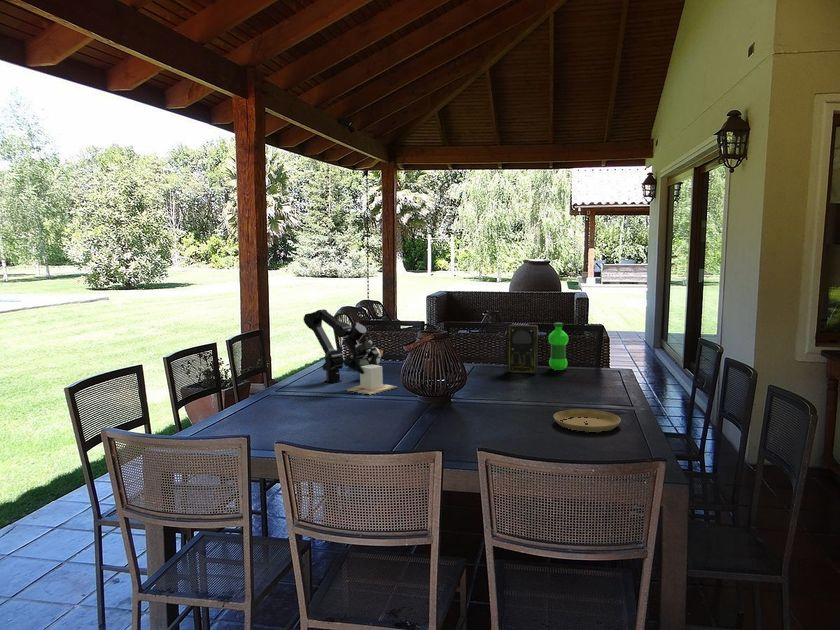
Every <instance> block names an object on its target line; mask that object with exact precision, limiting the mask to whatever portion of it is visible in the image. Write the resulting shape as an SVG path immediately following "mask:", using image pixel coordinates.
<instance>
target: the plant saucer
mask: <svg viewBox="0 0 840 630" xmlns="http://www.w3.org/2000/svg"><path fill="white" fill-rule="evenodd" d="M570 417H574V418H572V419H568V418H570ZM578 417H581V418H578ZM584 417H588V418H584ZM553 418H554V421H555V422H556V423H557V424H558V425H559V426H561V427H562V428H564V427H565V428H564V429H566V428H568V429H567V430H569V429H571V430H570V431H573V430H577V431H576V432H578V431H585V432H584V433H589V432H596V433H603V432H602V431H606V432H608V431H612V430H614V429H615V428H616V427H618V426H619V424H620V423H621V421H622V419H621V418H620V417H619V416H618V414H617V415H616V414H614V413H611V412H607V411H603V410H595V409H567V410H561V411H557V412H556V413H554V414H553ZM597 418H599V419H597ZM563 419H567V420H563ZM560 420H563V422H562V421H560ZM586 421H587V422H586ZM584 422H585V423H588V425H585V423H584Z"/></svg>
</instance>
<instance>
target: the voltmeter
mask: <svg viewBox="0 0 840 630" xmlns="http://www.w3.org/2000/svg"><path fill="white" fill-rule="evenodd" d="M538 337H539V326H538V325H536V324H509V325H508V326H507V373H508V372H511V373H510V374H523V373H530V374H531V375H536V374H538V373H537V372H538V350H539V349H538V340H539V339H538ZM530 374H529V375H530Z"/></svg>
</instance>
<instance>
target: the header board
mask: <svg viewBox="0 0 840 630" xmlns="http://www.w3.org/2000/svg"><path fill="white" fill-rule="evenodd" d="M394 388H397V389H398V386H397V385H392V384H384V383H383V387H381V388H377V389H373V390H369V389H364V388H360V385H355V386H352V387H347V388H345V391H346V390H348V391H347V392H349V391H354V392H358V393H357V394H359V393H363V394H362V395H364V394H369V395H371V394H375V395H377V394H376V393H379V394H381V393H380V392H383V391H386V392H388V391H387V390H390V391H392V390H391V389H394ZM394 390H395V389H394ZM354 392H353V393H354ZM383 393H384V392H383ZM369 395H368V396H369ZM371 396H372V395H371Z"/></svg>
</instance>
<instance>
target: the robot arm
mask: <svg viewBox="0 0 840 630" xmlns="http://www.w3.org/2000/svg"><path fill="white" fill-rule="evenodd" d="M323 322H324V323H325V324H326V325H328V326H329V327H330V328H332V330H333V332H334V334H335V335H336V336H337V337H338V338H343V339H342V342H341V345H342V346H346V347H347V349H348V350H349V351H348V354H347V356H346V357H345V358H344V355H343V353H342V351H341V350H340V349H335V348H334V346H333V344H332V343H331V341H330V339H329V337H328V335H327V333H326V331H325V329H324V327H323ZM303 323H304V324H305V325H306V327H307V328H308V329H310V330H311V331H312V332H313V333H314V335H315V338H316V339H317V341H318V343H319V345H320V347H321V349H322V350H323V353H324V361H325V362H324V363H323V365H322V370H323V371H325V372H326V373H325V374H326V375H325V376H326V380H324V381H327V382H326V383H328V382H331V383H330V384H335V383H334V382H336V383H339V382H338V381H340V382H342V381H343V380H342V379H341V375H340V370H342V369H343V365H344V366H345V367H347V368H349V369H352V370H354V371H355V372H356V373H357V372H358V373H359V374H360V373H361V374H364V372H363V370H362V368H361V366H360V365H359V363H358V360H364V359H366V360H367V361H368V363H369V364H370V365H371V364H372V365H377V361H376V359H377V357H378V355H379V352H378V351H377V350H373V351H370V352H369V353H368V354H367V355H366V353H367V352H368V351H367V350H369V349H372V347H374V343H373V341H372V340H367V341H366V342H363V343H360V342H359V341H360V340H361V339H362V338H363V336H364V335H365V334H366V332H367V328H366V326H364V325H363V324H360V322H357V321H356V322H354V323H353V325H351V324H348V323H346V322H343V321H341V320H339V319H338V318H336V317H335V316H333V315H332V314H331V313H330V312H328V310H327V309H318V310H316V311H314V312H311V313H305V315H304V316H303Z"/></svg>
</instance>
